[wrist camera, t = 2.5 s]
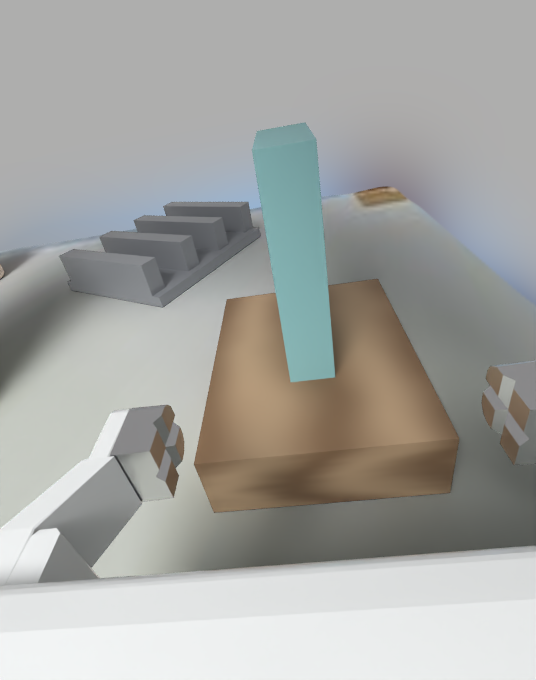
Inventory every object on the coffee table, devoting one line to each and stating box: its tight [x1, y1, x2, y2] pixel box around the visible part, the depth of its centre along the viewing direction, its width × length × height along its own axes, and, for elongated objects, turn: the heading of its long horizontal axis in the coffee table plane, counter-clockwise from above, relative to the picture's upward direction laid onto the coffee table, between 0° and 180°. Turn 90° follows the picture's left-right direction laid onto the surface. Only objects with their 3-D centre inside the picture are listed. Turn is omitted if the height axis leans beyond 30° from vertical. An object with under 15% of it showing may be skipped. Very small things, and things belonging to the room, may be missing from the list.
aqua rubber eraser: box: [252, 123, 335, 382], centre depth 21 cm, size 2×6×12 cm, turn 179°
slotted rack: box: [59, 202, 260, 307], centre depth 50 cm, size 20×16×5 cm
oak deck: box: [194, 279, 459, 513], centre depth 25 cm, size 12×16×4 cm
